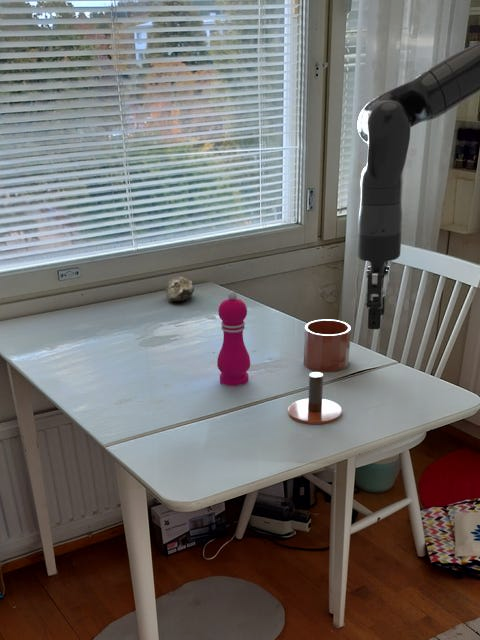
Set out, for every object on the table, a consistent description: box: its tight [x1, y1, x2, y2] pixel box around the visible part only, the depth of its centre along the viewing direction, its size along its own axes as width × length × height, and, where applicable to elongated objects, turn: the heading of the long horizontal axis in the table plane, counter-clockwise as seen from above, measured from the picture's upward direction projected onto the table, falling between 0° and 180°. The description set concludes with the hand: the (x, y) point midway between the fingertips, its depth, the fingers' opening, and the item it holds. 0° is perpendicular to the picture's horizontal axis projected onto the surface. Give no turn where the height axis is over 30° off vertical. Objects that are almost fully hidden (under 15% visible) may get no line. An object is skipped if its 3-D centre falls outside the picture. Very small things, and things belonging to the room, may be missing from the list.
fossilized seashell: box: [164, 276, 195, 302], centre depth 218 cm, size 8×7×10 cm
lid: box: [287, 371, 343, 425], centre depth 156 cm, size 11×11×9 cm
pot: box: [303, 319, 352, 373], centre depth 178 cm, size 10×10×8 cm
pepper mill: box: [216, 290, 251, 387], centre depth 167 cm, size 7×7×20 cm
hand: (376, 321), depth 145 cm, fingers open, 8 cm apart
